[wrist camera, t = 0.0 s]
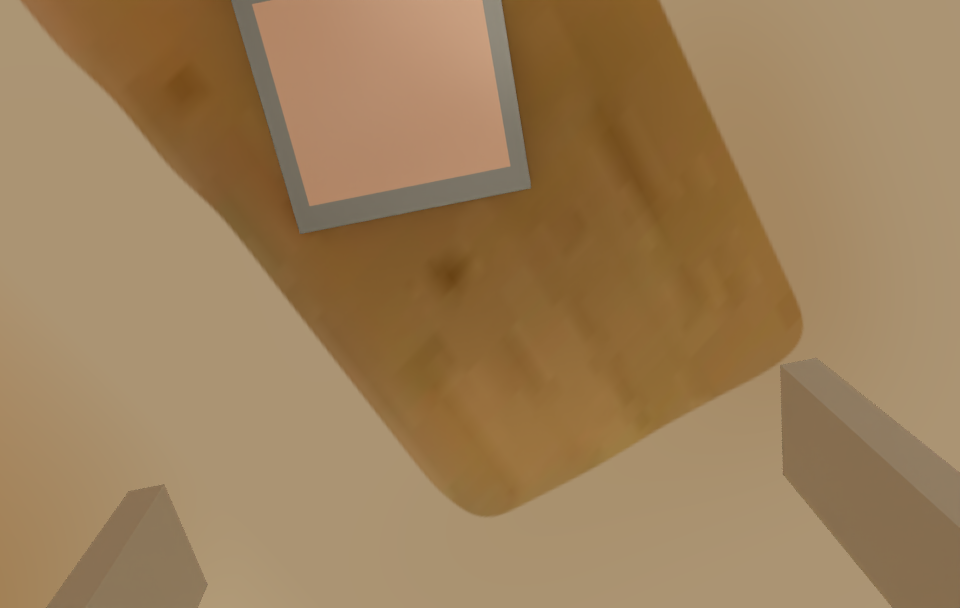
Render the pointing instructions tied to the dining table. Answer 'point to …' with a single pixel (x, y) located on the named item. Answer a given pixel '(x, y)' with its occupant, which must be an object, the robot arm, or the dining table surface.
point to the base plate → (385, 104)
